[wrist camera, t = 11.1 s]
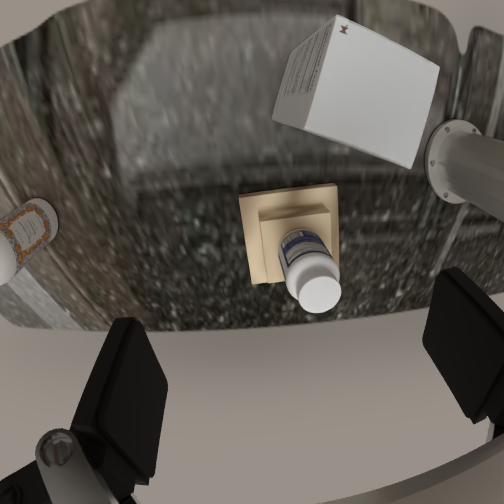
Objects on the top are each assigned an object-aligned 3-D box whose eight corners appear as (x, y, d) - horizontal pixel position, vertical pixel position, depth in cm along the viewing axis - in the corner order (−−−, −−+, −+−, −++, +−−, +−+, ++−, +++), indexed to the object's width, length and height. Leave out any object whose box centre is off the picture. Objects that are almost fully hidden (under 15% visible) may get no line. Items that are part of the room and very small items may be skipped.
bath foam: (67, 230, 39) (-14, 312, 21) (38, 248, 39) (-38, 327, 21) (45, 188, 36) (-51, 251, 18) (17, 209, 36) (-70, 275, 19)
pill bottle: (316, 271, 38) (338, 321, 29) (273, 266, 37) (284, 317, 28) (327, 230, 35) (356, 273, 27) (282, 223, 35) (298, 266, 26)
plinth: (333, 182, 38) (346, 193, 33) (335, 265, 43) (346, 284, 39) (238, 194, 38) (239, 207, 34) (251, 278, 43) (253, 299, 39)
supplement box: (269, 120, 34) (296, 130, 19) (289, 50, 30) (331, 9, 15) (343, 143, 36) (413, 173, 21) (363, 77, 32) (444, 66, 17)
